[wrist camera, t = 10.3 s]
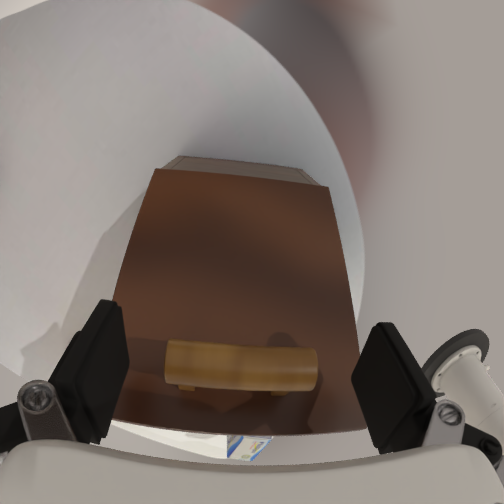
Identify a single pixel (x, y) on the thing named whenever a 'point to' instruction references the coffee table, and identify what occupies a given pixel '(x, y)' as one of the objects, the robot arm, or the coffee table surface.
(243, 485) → the robot arm
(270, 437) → the medicine box
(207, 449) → the coffee table surface
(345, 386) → the lid
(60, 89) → the coffee table surface
